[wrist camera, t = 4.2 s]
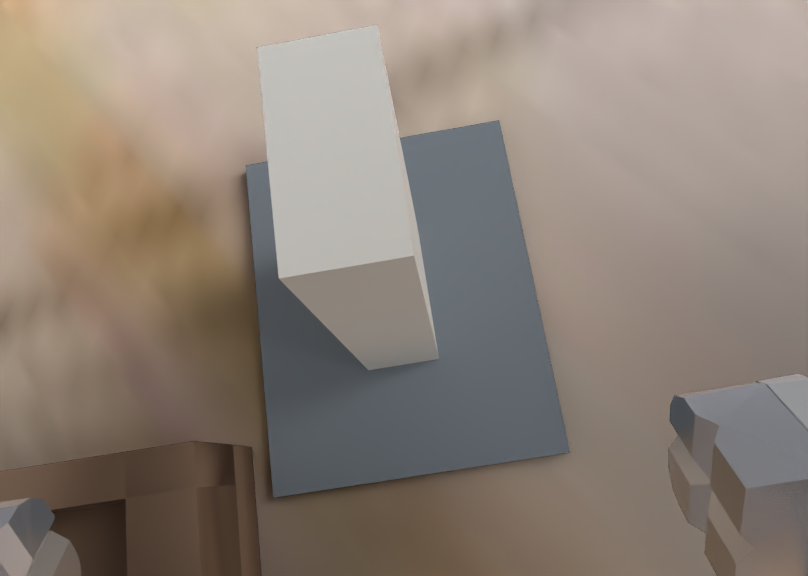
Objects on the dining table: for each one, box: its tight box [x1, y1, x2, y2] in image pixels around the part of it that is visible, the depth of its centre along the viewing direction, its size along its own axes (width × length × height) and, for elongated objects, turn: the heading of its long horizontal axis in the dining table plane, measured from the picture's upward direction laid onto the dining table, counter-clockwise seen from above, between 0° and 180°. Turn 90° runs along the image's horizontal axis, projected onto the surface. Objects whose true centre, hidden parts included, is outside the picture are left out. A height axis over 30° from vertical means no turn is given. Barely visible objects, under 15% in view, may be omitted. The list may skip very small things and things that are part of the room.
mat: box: [246, 120, 570, 498], centre depth 19 cm, size 8×10×1 cm
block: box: [257, 25, 439, 370], centre depth 14 cm, size 2×4×9 cm, turn 8°
